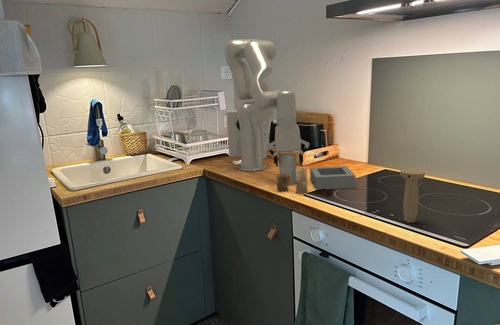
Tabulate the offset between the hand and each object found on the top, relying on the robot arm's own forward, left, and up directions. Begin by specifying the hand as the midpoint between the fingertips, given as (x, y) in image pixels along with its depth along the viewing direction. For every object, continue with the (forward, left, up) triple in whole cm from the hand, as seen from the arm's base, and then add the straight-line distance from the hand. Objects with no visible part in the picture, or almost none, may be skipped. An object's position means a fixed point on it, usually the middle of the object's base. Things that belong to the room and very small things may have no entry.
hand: (288, 164), depth 153 cm
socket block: (+17, -3, -8) cm, 19 cm away
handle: (+32, -44, -8) cm, 55 cm away
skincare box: (0, +1, -8) cm, 8 cm away
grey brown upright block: (+4, -13, -8) cm, 15 cm away
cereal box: (-17, +54, -8) cm, 57 cm away
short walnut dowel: (-3, -9, -8) cm, 13 cm away
